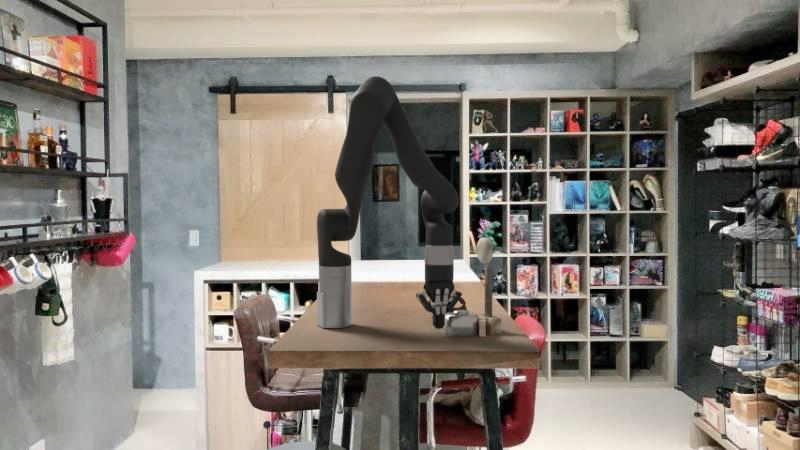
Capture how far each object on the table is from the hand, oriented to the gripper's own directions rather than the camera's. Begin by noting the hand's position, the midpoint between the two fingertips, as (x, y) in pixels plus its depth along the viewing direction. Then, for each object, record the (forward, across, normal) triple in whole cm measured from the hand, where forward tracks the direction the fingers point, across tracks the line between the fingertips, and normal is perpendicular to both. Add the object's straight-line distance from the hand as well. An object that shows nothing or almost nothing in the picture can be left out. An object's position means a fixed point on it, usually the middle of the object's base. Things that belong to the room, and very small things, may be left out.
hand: (438, 328), depth 168 cm
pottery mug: (+2, +13, +22) cm, 26 cm away
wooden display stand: (+2, +13, 0) cm, 13 cm away
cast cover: (+2, +7, 0) cm, 7 cm away
